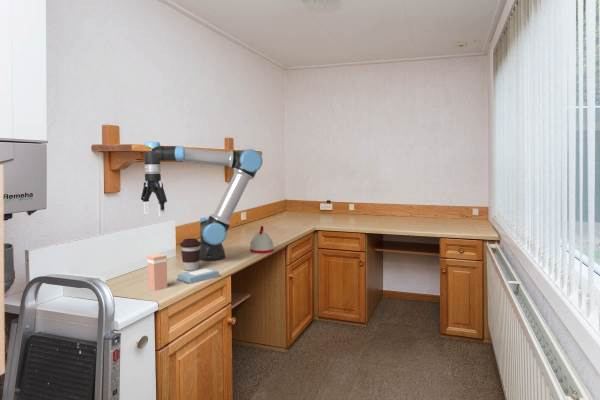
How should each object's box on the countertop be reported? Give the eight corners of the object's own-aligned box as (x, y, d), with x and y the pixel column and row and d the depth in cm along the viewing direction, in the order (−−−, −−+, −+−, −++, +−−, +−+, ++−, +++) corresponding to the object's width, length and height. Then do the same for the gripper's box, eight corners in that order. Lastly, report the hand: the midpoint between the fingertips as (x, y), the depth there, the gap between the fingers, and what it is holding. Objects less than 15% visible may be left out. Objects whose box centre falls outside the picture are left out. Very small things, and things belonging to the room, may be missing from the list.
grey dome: (275, 249, 273) (274, 224, 272) (271, 253, 259) (271, 228, 258) (252, 248, 274) (252, 224, 273) (247, 253, 261) (247, 227, 259)
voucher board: (205, 272, 215) (205, 267, 215) (219, 276, 209) (218, 270, 208) (175, 280, 203) (175, 274, 202) (188, 284, 196) (188, 278, 196)
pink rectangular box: (160, 285, 194) (160, 253, 193) (167, 287, 191) (166, 255, 190) (148, 288, 190) (147, 256, 188) (154, 290, 186) (153, 257, 185)
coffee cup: (191, 265, 230) (191, 237, 229) (205, 268, 224) (204, 239, 223) (176, 269, 222) (175, 240, 220) (190, 272, 216) (189, 242, 215)
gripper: (132, 172, 227) (134, 214, 229) (159, 173, 211) (161, 218, 213) (146, 172, 233) (147, 212, 235) (173, 173, 216) (174, 216, 218)
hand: (154, 215), depth 224 cm, fingers open, 13 cm apart
